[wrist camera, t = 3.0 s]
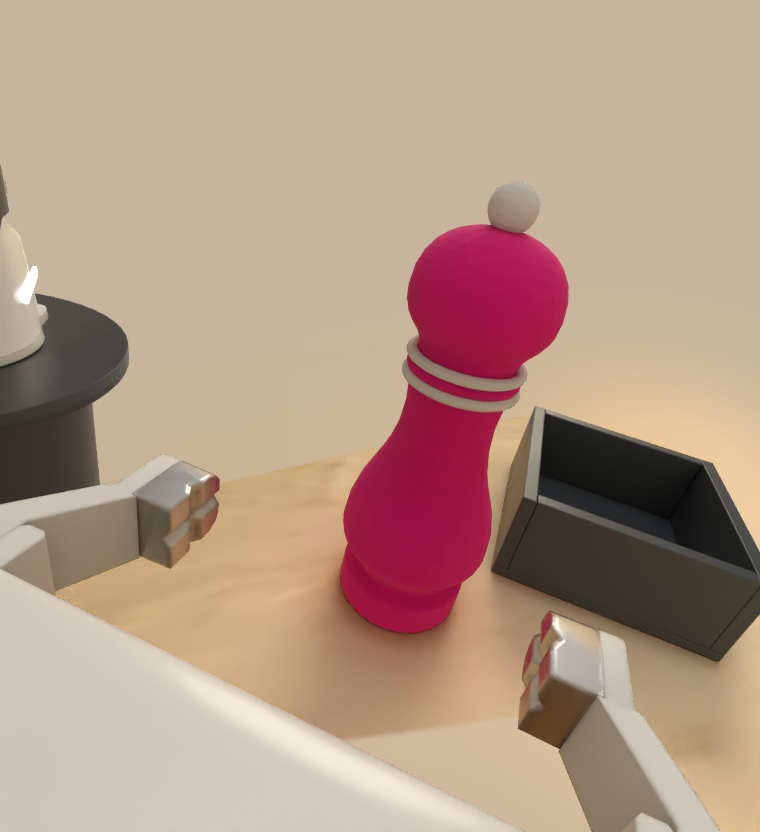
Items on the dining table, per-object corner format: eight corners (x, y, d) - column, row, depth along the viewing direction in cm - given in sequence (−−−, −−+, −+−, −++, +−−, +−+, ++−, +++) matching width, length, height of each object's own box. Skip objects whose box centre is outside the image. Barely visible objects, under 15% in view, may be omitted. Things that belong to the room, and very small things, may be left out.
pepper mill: (437, 534, 30) (555, 187, 21) (484, 637, 25) (679, 218, 15) (322, 537, 28) (395, 151, 19) (343, 650, 22) (466, 170, 13)
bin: (490, 571, 29) (523, 497, 26) (510, 465, 39) (535, 405, 37) (719, 662, 26) (780, 590, 24) (674, 523, 37) (713, 463, 34)
